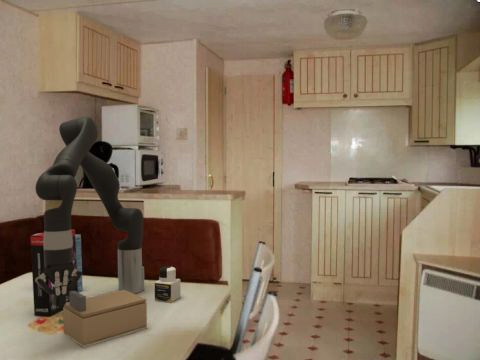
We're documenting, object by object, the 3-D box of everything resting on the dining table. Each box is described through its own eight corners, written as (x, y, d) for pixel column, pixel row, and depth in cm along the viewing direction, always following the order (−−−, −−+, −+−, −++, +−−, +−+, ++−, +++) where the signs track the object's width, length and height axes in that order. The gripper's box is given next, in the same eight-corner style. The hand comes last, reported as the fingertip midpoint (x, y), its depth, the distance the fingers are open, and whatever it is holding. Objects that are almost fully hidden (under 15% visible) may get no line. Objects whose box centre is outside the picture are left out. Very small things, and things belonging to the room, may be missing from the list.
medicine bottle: (154, 300, 160) (153, 268, 160) (164, 295, 167) (164, 264, 166) (171, 303, 158) (170, 270, 157) (180, 297, 164) (180, 266, 164)
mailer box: (124, 316, 144) (124, 293, 143) (146, 328, 133) (146, 302, 133) (63, 333, 130) (63, 307, 130) (83, 347, 120) (82, 318, 119)
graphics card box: (49, 317, 144) (47, 235, 143) (31, 316, 145) (29, 235, 144) (78, 301, 161) (77, 228, 160) (62, 300, 162) (60, 227, 161)
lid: (124, 292, 143) (123, 277, 143) (146, 301, 133) (146, 286, 133) (63, 306, 130) (62, 290, 129) (82, 317, 119) (82, 300, 119)
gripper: (76, 241, 129) (77, 299, 129) (28, 247, 120) (30, 309, 120) (86, 244, 123) (88, 304, 124) (38, 251, 114) (40, 316, 115)
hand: (59, 307), depth 122 cm, fingers closed
